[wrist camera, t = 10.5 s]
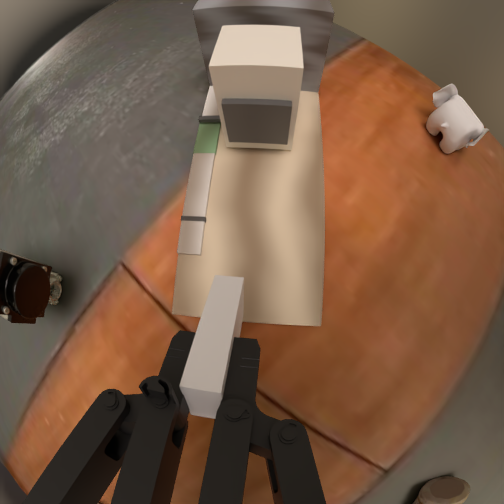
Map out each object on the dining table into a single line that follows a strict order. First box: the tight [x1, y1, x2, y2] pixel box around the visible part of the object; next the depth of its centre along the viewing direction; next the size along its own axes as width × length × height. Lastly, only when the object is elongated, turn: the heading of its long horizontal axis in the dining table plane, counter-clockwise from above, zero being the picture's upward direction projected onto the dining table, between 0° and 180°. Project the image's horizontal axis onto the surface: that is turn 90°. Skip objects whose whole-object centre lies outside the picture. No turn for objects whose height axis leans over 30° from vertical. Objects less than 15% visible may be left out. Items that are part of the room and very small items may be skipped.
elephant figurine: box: [426, 84, 489, 154], centre depth 22 cm, size 8×10×7 cm
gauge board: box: [172, 0, 334, 326], centre depth 19 cm, size 12×28×12 cm, turn 176°
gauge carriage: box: [198, 25, 304, 150], centre depth 20 cm, size 9×8×10 cm
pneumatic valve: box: [0, 249, 62, 324], centre depth 18 cm, size 6×12×12 cm, turn 80°
